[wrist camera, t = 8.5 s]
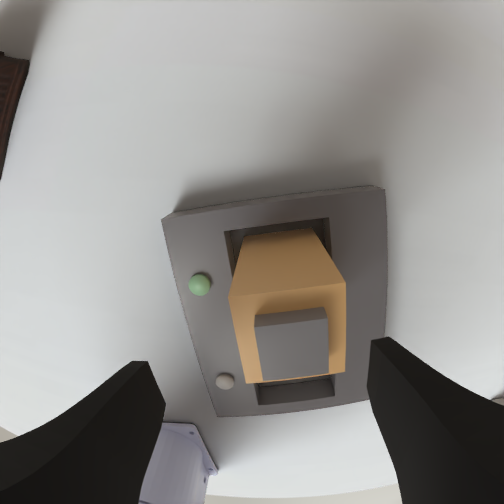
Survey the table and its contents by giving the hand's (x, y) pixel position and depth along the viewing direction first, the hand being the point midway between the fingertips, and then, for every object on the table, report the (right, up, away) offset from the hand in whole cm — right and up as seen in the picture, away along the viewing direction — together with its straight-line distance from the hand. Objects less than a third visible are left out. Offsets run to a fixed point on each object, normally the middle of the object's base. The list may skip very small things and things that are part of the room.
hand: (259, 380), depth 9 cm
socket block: (+2, 0, +10) cm, 10 cm away
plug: (+2, +3, +9) cm, 10 cm away
